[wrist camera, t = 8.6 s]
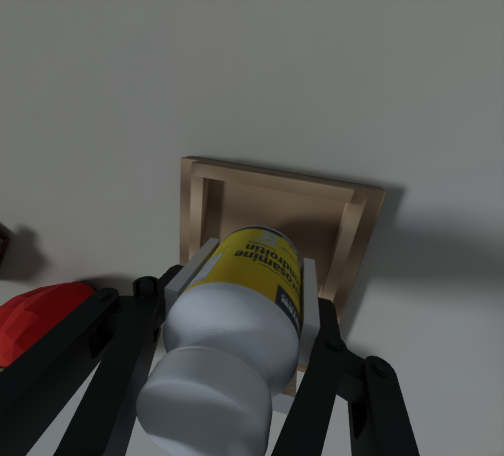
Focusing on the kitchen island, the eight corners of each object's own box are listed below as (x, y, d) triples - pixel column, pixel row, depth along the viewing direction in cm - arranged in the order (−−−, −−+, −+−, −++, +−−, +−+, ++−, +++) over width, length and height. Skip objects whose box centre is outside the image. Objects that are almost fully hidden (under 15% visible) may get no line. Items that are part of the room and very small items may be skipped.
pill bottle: (315, 281, 18) (333, 489, 7) (244, 304, 20) (179, 491, 10) (277, 207, 16) (230, 337, 6) (204, 241, 19) (76, 380, 8)
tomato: (133, 292, 28) (47, 371, 19) (113, 354, 33) (38, 439, 24) (51, 247, 28) (-75, 303, 19) (44, 316, 33) (-57, 386, 24)
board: (189, 156, 21) (173, 159, 18) (380, 187, 18) (392, 196, 16) (184, 327, 28) (173, 345, 26) (318, 364, 26) (320, 387, 24)
